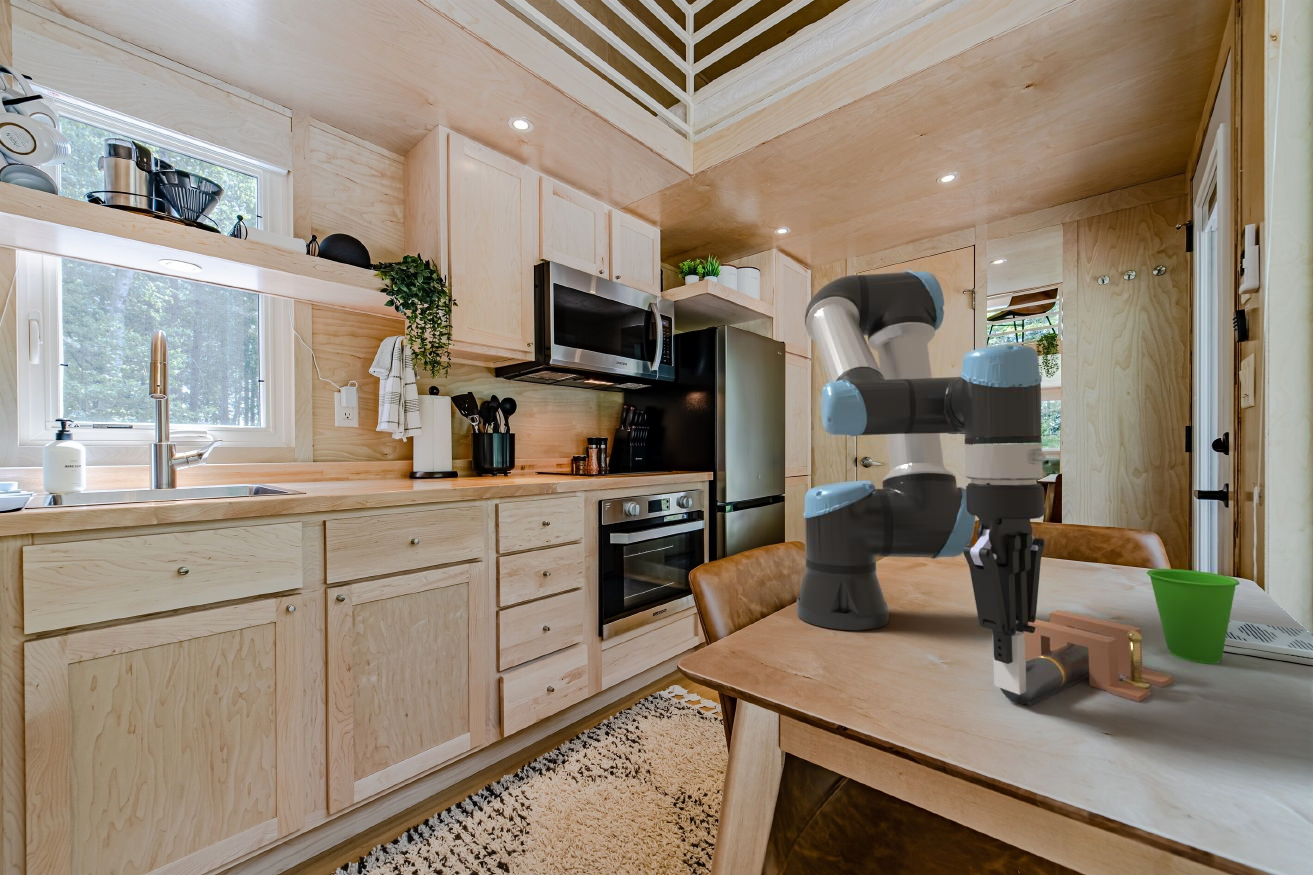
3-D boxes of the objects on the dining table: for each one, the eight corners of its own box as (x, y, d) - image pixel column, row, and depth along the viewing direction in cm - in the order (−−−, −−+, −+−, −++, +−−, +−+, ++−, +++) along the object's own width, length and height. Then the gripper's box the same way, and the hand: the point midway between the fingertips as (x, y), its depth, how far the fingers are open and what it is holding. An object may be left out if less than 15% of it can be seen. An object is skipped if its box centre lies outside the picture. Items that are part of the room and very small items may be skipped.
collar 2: (1027, 648, 77) (1026, 608, 77) (1039, 644, 79) (1037, 604, 79) (1162, 687, 64) (1161, 638, 65) (1173, 681, 66) (1171, 633, 66)
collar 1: (1001, 659, 74) (999, 616, 74) (1013, 654, 75) (1012, 612, 75) (1138, 701, 61) (1136, 650, 61) (1150, 695, 62) (1148, 645, 63)
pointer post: (1119, 683, 66) (1117, 630, 66) (1128, 679, 67) (1125, 626, 67) (1144, 691, 63) (1142, 636, 64) (1153, 686, 65) (1150, 632, 65)
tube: (1032, 708, 60) (1031, 676, 60) (998, 696, 63) (997, 665, 63) (1098, 676, 68) (1096, 647, 68) (1064, 666, 71) (1063, 639, 71)
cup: (1264, 672, 68) (1260, 585, 68) (1180, 667, 70) (1176, 582, 70) (1206, 646, 77) (1203, 569, 77) (1133, 642, 79) (1130, 567, 79)
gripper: (1007, 486, 55) (1015, 717, 55) (1068, 480, 62) (1076, 687, 61) (938, 482, 62) (944, 689, 61) (1000, 478, 68) (1006, 665, 68)
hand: (1010, 688), depth 61 cm, fingers closed
